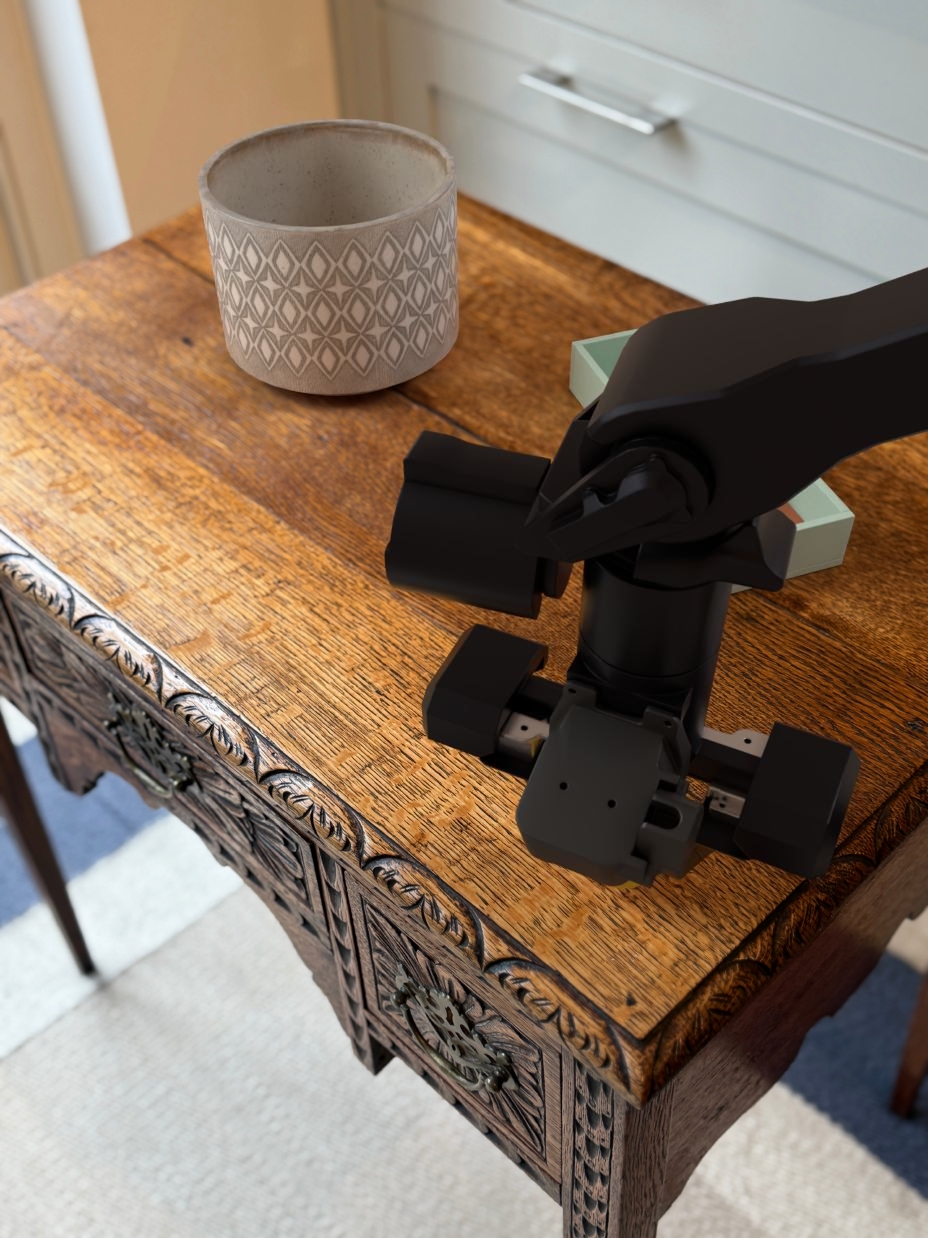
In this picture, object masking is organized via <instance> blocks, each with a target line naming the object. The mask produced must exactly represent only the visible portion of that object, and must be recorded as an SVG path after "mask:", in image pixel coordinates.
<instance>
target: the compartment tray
mask: <svg viewBox="0 0 928 1238" xmlns="http://www.w3.org/2000/svg"><path fill="white" fill-rule="evenodd" d="M638 329H639V328H633V329H629V330H624V331H620V332H619V331H618V332H614V333H610V334H605V335H599V336H595V337H590V338H586V339H581V340H575V341H571V350H570V351H571V352H570V369H569V387H568V389H569V390H570V392H571V393H572V395H573V396H574V397H575V398H576V400H577V401H578V402H579V404H580V405H581V407H582V408H583V410H584V409H585V408H586V407H587V406H588V405H589V404H590V403H592V402H593V401H594V400H595V399H596V398H597V397H598V396H599V395H601V394H602V393H603V391H604V389H605V387H606V385H607V382H608V380H609V378H610V376H611V374H612V372H613V369H614V367H615V365H616V363H617V361H618V358H619V356H620V354H621V352H622V350H623V348H624V346H625V345H626V343H627V342H628V340H629V338H630V337H631V336H632V335H633V334H634V333H635V332H636V331H637V330H638ZM777 509H779V510H781V511H782V512H783V513H784V514H785V515H786V516H787V517H788V518H790V519H791V520H792V521H793V522H794V523H795V524H796V527H797V531H796V535H795V540H794V544H793V549H792V553H791V558H790V562H789V567H788V571H787V576H786V580H788V579H793V578H796V577H799V576H804V575H808V574H812V573H814V572H818V571H822V570H826V569H830V568H834V567H838V566H841V565H842V564H843V561H844V557H845V555H846V554H845V553H846V550H847V546H848V543H849V541H850V536H851V533H852V529H853V526H854V522H855V518H856V515H855V514H854V512H852V510H851V509H850V508H849V507H848V506H847V505H846V504H845V503H844V502H843V501H842V500H841V498H840V497H839V496H838V495H837V493H835V492H834V491H833V490H832V489H831V487H830V486H828V484H827V483H826V482H825V481H824V480H823V478H822V477H820V478H819V479H818V480H816V481H815V482H814V483H812V484H811V485H810V486H808V487H807V488H806V489H804V490H803V491H802V492H800V493H799V494H798V495H796V496H795V497H794V498H792V499H791V500H790V501H788V502H787V503H786V504H784V505H783V506H781V507H779V508H777ZM751 589H752V588H750V587H745V586H741V585H736V584H733V586H732V591H731V595H732V594H735V593H736V594H737V593H740V592H743V591H748V590H751Z"/></svg>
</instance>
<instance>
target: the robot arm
mask: <svg viewBox="0 0 928 1238" xmlns="http://www.w3.org/2000/svg"><path fill="white" fill-rule="evenodd" d="M637 329H638V330H637V331H636V332H635V333H634V334H633V335H632V336H631V337H630V338H629V340H628V342H627V343H626V345H625V346H624V348H623V350H622V352H621V354H620V356H619V358H618V361H617V363H616V365H615V367H614V369H613V372H612V374H611V376H610V378H609V380H608V382H607V385H606V387H605V389H604V391H603V393H602V394H601V395H599V396H598V397H597V398H596V399H595V400H594V401H593V402H592V403H590V404H589V405H588V406H587V407H586V408H585V409H584V408H583V410H581V411H580V412H579V413H578V414H577V415H576V416H575V417H574V418H572V419H571V422H570V423H569V426H568V428H567V430H566V432H565V434H564V436H563V438H562V440H561V442H560V445H559V447H558V449H557V451H556V453H555V455H554V457H553V460H552V459H551V458H549V457H544V456H539V455H534V454H529V453H523V452H518V451H513V450H508V449H503V448H497V447H493V446H487V445H482V444H478V443H473V442H470V441H468V440H465V439H462V438H460V437H458V436H455V435H451V434H447V433H443V432H437V431H432V430H428V429H423V430H422V431H420V432H419V434H418V435H417V437H416V439H415V440H414V442H413V443H412V445H411V447H410V449H409V450H408V451H407V453H406V455H405V456H404V458H403V459H402V468H403V482H402V485H401V488H400V491H399V494H398V497H397V500H396V505H395V508H394V514H393V518H392V522H391V529H390V530H391V531H390V537H389V541H388V542H387V545H386V546H385V548H384V554H383V556H384V557H383V558H384V569H385V575H386V578H387V581H388V583H389V585H390V586H391V587H393V588H394V589H396V590H400V591H405V592H409V593H413V594H417V595H422V596H427V597H431V598H434V599H440V600H444V601H448V602H453V603H457V604H461V605H466V606H470V607H475V608H478V609H482V610H487V611H492V612H497V613H501V614H505V615H510V616H514V617H519V618H522V619H530V620H534V621H537V620H538V618H539V615H540V611H541V608H542V603H543V596H544V597H545V598H549V599H553V600H560V599H561V598H562V597H563V595H564V594H565V591H566V589H567V587H568V584H569V582H570V578H571V575H572V572H573V569H574V564H577V563H580V562H583V565H582V579H581V580H582V581H581V593H580V605H579V606H580V607H579V619H578V620H579V621H578V630H577V631H578V632H577V645H576V654H575V656H574V658H573V660H572V661H571V663H570V665H569V666H568V668H567V670H566V675H565V677H566V678H565V679H566V680H565V683H564V684H563V683H560V682H557V681H554V680H551V679H548V678H545V677H543V676H540V675H536V674H534V673H536V672H539V671H542V670H544V668H545V667H546V665H547V663H548V662H549V651H550V649H549V648H550V646H549V645H548V644H546V643H542V642H540V641H536V640H533V639H530V638H527V637H524V636H521V635H518V634H515V633H511V632H508V631H506V630H502V629H500V628H496V627H493V626H491V625H487V624H485V623H478V622H477V623H474V624H473V625H471V626H470V627H468V628H467V629H465V630H464V631H463V632H462V633H461V635H460V636H459V638H458V640H457V641H456V642H455V644H454V645H453V647H452V648H451V650H450V651H449V652H448V654H447V656H446V657H445V659H444V660H443V662H442V663H441V664H440V666H439V668H438V669H437V671H436V672H435V674H434V675H433V676H432V678H431V680H430V681H429V682H428V683H427V685H426V687H425V691H424V694H423V697H422V701H421V719H422V720H421V722H422V728H423V730H424V731H423V732H424V733H425V735H426V738H427V740H429V741H432V742H435V743H438V744H440V745H442V746H446V747H448V748H450V749H454V750H456V751H459V752H461V753H464V754H467V755H470V756H472V757H476V758H478V759H479V762H480V763H481V764H482V765H484V766H486V767H488V768H491V769H493V770H496V771H498V772H502V773H504V774H507V775H510V776H512V777H515V778H518V779H520V780H523V781H524V782H525V787H524V790H523V792H522V794H521V796H520V798H519V800H518V804H517V806H516V808H515V815H514V818H515V823H516V826H517V829H518V831H519V833H520V836H521V838H522V840H523V843H524V845H525V848H526V850H527V851H528V852H529V854H530V855H531V856H532V857H534V858H536V859H538V860H539V861H542V862H545V863H548V864H552V865H555V866H557V867H560V868H563V869H565V870H568V871H570V872H573V873H575V874H578V875H580V876H583V877H586V878H588V879H590V880H592V881H593V882H596V883H598V884H600V885H603V886H605V885H606V886H605V887H609V886H620V885H622V884H625V883H626V882H628V881H632V882H634V883H637V884H640V886H643V887H645V888H647V889H652V887H653V885H654V883H655V880H656V878H657V877H659V876H660V875H665V876H668V877H671V878H674V879H676V880H679V881H681V880H682V879H683V878H684V877H686V876H687V875H688V874H689V873H690V872H691V871H692V870H694V869H695V868H696V867H697V866H698V865H699V864H700V863H701V862H703V861H704V860H705V859H706V858H707V857H709V856H710V855H711V854H713V853H715V852H716V853H719V854H722V855H725V856H728V857H730V858H733V859H735V860H738V861H741V862H749V861H751V860H754V861H757V862H759V863H763V864H765V865H767V866H770V867H773V868H775V869H778V870H781V871H784V872H786V873H789V874H792V875H795V876H797V877H799V878H802V879H805V880H808V881H810V880H813V879H817V878H819V877H822V876H825V875H827V872H828V869H829V866H830V864H831V861H832V858H833V856H834V853H835V850H836V847H837V844H838V840H839V839H840V835H841V832H842V828H843V825H844V823H845V819H846V815H847V812H848V808H849V806H850V802H851V799H852V796H853V794H854V793H853V792H854V789H855V786H856V784H857V779H858V776H859V773H860V770H861V767H862V761H861V759H860V757H859V755H858V753H857V751H856V749H855V747H854V746H853V745H851V744H849V743H845V742H843V741H840V740H837V739H833V738H830V737H827V736H824V735H822V734H818V733H816V732H812V731H809V730H807V729H804V728H800V727H797V726H795V725H791V724H787V723H785V722H782V721H778V720H775V721H774V722H773V725H772V727H771V731H770V733H769V735H768V734H765V733H762V732H759V731H757V730H753V729H750V728H740V729H738V730H736V731H735V732H733V733H726V732H723V731H720V730H717V729H714V728H712V727H709V726H705V725H706V720H707V714H708V710H709V705H710V700H711V694H712V690H713V684H714V682H715V681H714V680H715V675H716V670H717V665H718V660H719V655H720V650H721V646H722V640H723V636H724V631H725V625H726V620H727V615H728V610H729V607H730V600H731V596H732V594H731V591H732V586H733V584H736V585H741V586H745V587H750V588H751V589H755V590H759V591H764V592H769V593H777V592H780V591H782V589H784V588H785V585H786V580H787V579H786V576H787V571H788V567H789V562H790V558H791V553H792V549H793V544H794V540H795V535H796V531H797V527H796V524H795V523H794V522H793V521H792V520H791V519H790V518H788V517H787V516H786V515H785V514H784V513H783V512H782V511H781V510H779V509H777V508H779V507H781V506H783V505H784V504H786V503H787V502H788V501H790V500H791V499H792V498H794V497H795V496H796V495H798V494H799V493H800V492H802V491H803V490H804V489H806V488H807V487H808V486H810V485H811V484H812V483H814V482H815V481H816V480H818V479H819V478H822V477H823V476H824V475H826V474H827V473H828V472H830V471H831V470H832V469H834V468H835V467H837V466H838V465H839V464H841V463H842V462H844V461H846V460H848V459H850V458H852V457H855V456H856V455H859V454H861V453H863V452H867V451H868V450H870V449H872V448H875V447H877V446H880V445H883V444H886V443H887V444H888V443H891V442H894V441H897V440H902V439H906V438H908V437H912V436H916V435H920V434H923V433H926V432H928V266H927V267H924V268H921V269H918V270H916V271H912V272H909V273H907V274H904V275H901V276H899V277H896V278H893V279H889V280H887V281H884V282H881V283H878V284H876V285H872V286H870V287H867V288H864V289H861V290H859V291H856V292H853V293H849V294H845V295H839V296H833V297H829V298H823V299H818V300H809V301H808V300H797V299H786V298H775V297H765V296H750V297H749V296H748V297H743V298H739V299H735V300H728V301H723V302H718V303H713V304H708V305H703V306H699V307H693V308H687V309H682V310H678V311H673V312H669V313H665V314H662V315H659V316H657V317H656V318H654V319H652V320H651V321H648V322H647V323H645V324H643V325H642V326H639V327H638V328H637ZM687 778H691V779H693V780H696V781H700V782H702V783H705V784H708V787H707V789H706V791H705V793H704V795H703V797H702V799H701V801H697V800H694V799H692V798H689V797H688V796H687V795H688V791H689V788H690V784H691V781H689V780H688V779H687ZM658 875H659V876H658Z"/></svg>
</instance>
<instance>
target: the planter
mask: <svg viewBox="0 0 928 1238" xmlns="http://www.w3.org/2000/svg"><path fill="white" fill-rule="evenodd" d="M457 184H458V183H457V164H456V160H455V159H454V157H453V155H452V154H451V152H450V151H449V150H448V149H447V148H446V146H444V145H443V144H442V143H441V142H439V141H438V140H436V139H435V138H433V137H431V136H430V135H427V134H426V133H424V132H420V131H418V130H415V129H413V128H410V127H407V126H402V125H400V124H399V125H398V124H395V123H389V122H384V121H378V120H368V119H359V118H358V119H356V118H326V119H325V118H323V119H322V118H321V119H312V120H303V121H302V120H301V121H295V122H290V123H285V124H281V125H276V126H271V127H267V128H265V129H261V130H258V131H256V132H255V131H254V132H251V133H249V134H247V135H244V136H241V137H239V138H237V139H235V140H233V141H232V142H229V143H228V144H225V145H224V146H223V147H222V148H220V149H218V150H217V151H215V153H213V154H212V155H211V156H210V157H209V158H208V159H207V160H206V161H205V162H204V164H203V166H202V167H201V169H200V170H199V175H198V177H197V186H198V187H197V189H198V194H199V200H200V205H201V211H202V217H203V222H204V228H205V233H206V239H207V245H208V251H209V256H210V263H211V268H212V273H213V279H214V284H215V290H216V296H217V301H218V305H219V306H218V307H219V312H220V317H221V325H222V329H223V335H224V340H225V346H226V348H227V351H228V354H229V355H230V357H231V359H233V361H234V362H235V363H236V365H237V366H238V367H239V368H241V369H242V370H243V371H244V372H245V373H246V374H248V375H250V376H251V377H253V378H255V379H257V380H258V381H261V382H263V383H266V384H267V385H270V386H273V387H277V388H280V389H283V390H287V391H292V392H298V393H303V394H309V395H314V396H315V395H316V396H326V397H327V396H328V397H329V396H330V397H343V396H344V397H346V396H347V397H349V396H356V395H363V394H369V393H373V392H378V391H381V390H385V389H387V388H391V387H393V386H396V385H399V384H402V383H405V382H407V381H410V380H411V379H413V378H416V377H419V376H421V375H422V374H424V373H425V372H427V371H429V370H430V369H432V368H433V367H435V366H436V365H437V364H438V363H440V362H441V361H442V360H444V358H445V357H446V356H447V355H448V354H449V352H451V350H452V348H453V347H454V345H455V343H456V342H457V340H458V335H459V331H460V305H459V303H460V302H459V299H460V297H459V296H460V295H459V247H458V245H459V240H458V195H457V194H458V191H457V190H458V187H457V186H458V185H457Z"/></svg>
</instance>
